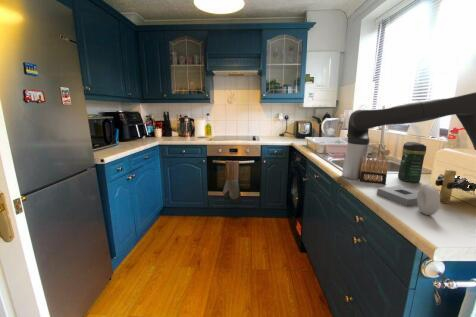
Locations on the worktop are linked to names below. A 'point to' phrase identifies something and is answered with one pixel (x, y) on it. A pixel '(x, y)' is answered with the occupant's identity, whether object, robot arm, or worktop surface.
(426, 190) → the donut
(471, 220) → the worktop surface
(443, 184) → the dowel
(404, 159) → the coffee jar
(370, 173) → the ammunition clip
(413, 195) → the socket block
